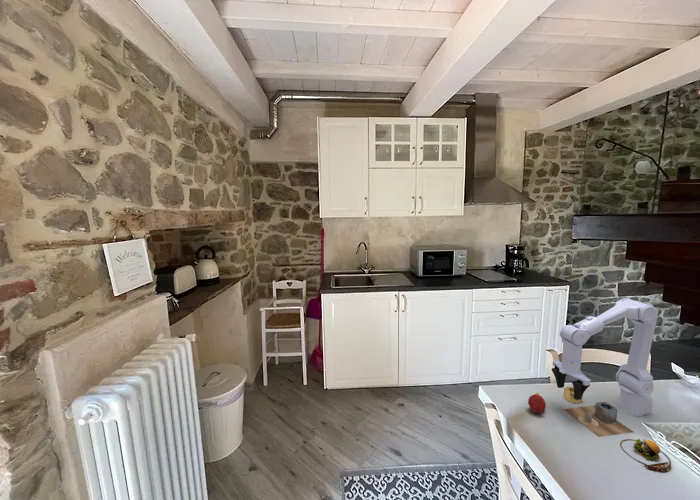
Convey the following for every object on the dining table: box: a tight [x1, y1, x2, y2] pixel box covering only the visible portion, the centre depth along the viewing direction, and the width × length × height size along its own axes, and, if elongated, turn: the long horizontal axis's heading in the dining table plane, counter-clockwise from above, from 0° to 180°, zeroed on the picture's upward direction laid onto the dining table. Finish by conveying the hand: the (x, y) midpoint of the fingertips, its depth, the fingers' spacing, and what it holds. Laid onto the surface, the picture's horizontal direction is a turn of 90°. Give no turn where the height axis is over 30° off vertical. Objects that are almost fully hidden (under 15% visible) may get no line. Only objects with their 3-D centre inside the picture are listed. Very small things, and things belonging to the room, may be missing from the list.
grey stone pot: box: [594, 401, 618, 424], centre depth 115 cm, size 5×5×5 cm
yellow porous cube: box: [563, 386, 584, 404], centre depth 127 cm, size 5×5×5 cm
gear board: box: [562, 405, 634, 438], centre depth 115 cm, size 14×15×4 cm
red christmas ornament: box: [527, 392, 547, 414], centre depth 121 cm, size 6×6×8 cm
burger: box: [620, 438, 672, 473], centre depth 99 cm, size 12×12×8 cm
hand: (568, 393), depth 117 cm, fingers open, 7 cm apart
